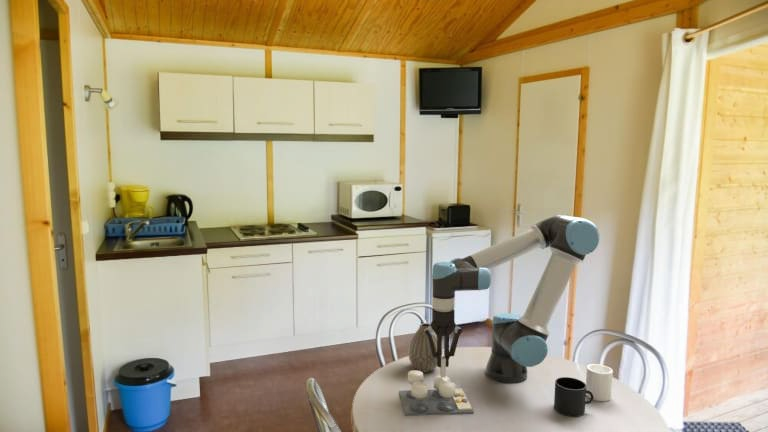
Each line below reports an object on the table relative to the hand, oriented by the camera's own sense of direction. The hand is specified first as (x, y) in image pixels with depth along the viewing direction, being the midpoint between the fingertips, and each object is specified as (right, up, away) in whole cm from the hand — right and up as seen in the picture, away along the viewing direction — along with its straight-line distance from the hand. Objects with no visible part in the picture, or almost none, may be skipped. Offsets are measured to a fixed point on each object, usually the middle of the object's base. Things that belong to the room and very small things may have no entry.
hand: (442, 375), depth 172 cm
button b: (0, -5, -9) cm, 10 cm away
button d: (-9, -5, -9) cm, 14 cm away
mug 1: (+41, -9, -8) cm, 43 cm away
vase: (-4, -5, +23) cm, 24 cm away
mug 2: (+54, -8, +4) cm, 54 cm away
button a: (0, -6, +1) cm, 6 cm away
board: (-3, -8, -4) cm, 9 cm away
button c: (-9, -4, 0) cm, 10 cm away
